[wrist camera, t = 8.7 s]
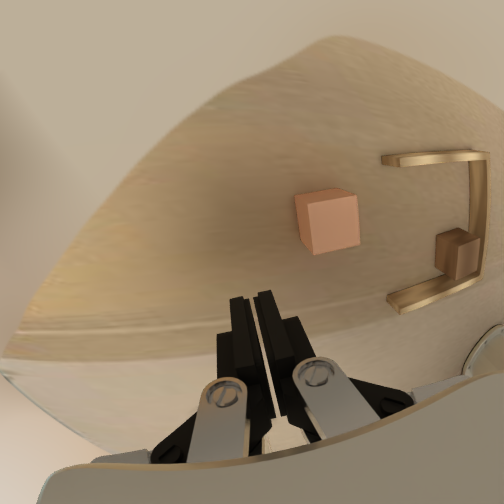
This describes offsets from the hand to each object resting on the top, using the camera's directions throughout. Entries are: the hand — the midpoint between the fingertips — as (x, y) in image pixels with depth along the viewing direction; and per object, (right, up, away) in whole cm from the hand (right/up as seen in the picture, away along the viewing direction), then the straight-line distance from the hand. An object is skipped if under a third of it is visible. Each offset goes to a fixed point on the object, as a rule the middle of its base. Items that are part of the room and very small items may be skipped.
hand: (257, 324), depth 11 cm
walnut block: (+23, +3, +16) cm, 28 cm away
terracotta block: (+6, +6, +13) cm, 16 cm away
